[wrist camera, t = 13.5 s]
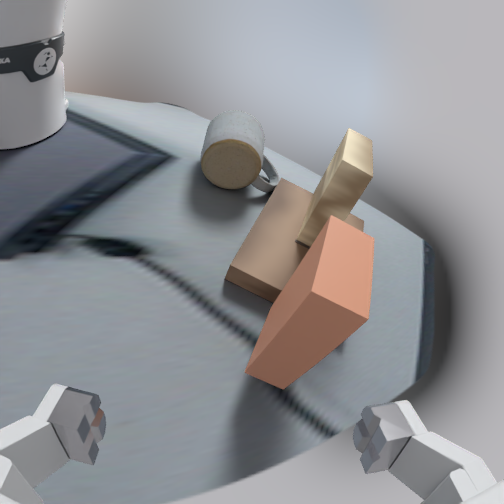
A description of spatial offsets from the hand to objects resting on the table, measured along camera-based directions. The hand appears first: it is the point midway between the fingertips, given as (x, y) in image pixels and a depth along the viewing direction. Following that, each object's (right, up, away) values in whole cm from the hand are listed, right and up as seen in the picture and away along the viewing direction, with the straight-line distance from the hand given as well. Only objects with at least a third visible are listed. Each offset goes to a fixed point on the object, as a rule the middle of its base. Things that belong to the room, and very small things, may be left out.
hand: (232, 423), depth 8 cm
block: (+2, -2, +14) cm, 14 cm away
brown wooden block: (+6, +5, +26) cm, 27 cm away
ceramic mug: (-2, +15, +32) cm, 35 cm away
